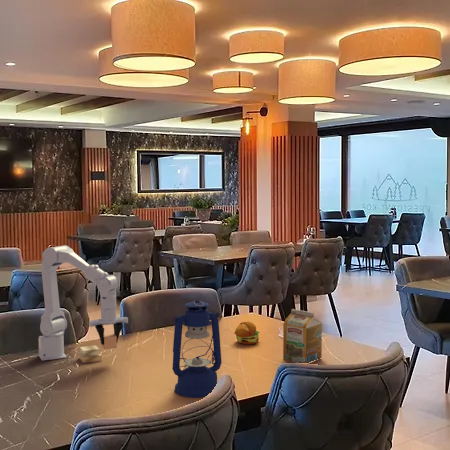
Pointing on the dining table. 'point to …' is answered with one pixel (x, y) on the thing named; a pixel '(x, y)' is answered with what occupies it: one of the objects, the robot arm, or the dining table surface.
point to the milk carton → (302, 337)
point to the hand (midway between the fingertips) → (109, 343)
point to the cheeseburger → (247, 333)
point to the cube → (110, 341)
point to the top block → (89, 351)
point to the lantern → (196, 367)
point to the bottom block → (90, 358)
